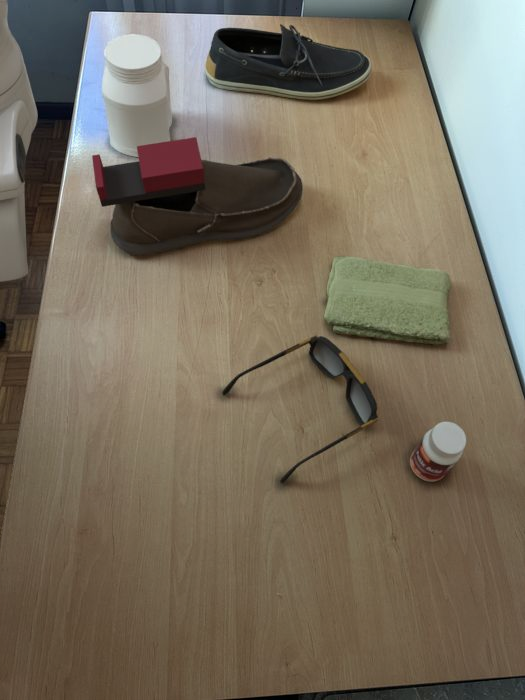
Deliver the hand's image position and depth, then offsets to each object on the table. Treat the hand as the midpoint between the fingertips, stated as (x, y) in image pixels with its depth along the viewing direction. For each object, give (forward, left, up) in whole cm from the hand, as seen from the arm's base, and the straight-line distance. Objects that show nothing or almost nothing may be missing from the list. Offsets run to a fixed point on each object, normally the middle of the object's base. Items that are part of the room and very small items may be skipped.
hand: (17, 229), depth 60 cm
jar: (+14, +45, -29) cm, 55 cm away
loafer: (+22, +24, -29) cm, 44 cm away
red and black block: (+14, +23, -19) cm, 33 cm away
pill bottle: (+42, -19, -29) cm, 55 cm away
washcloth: (+44, +5, -29) cm, 53 cm away
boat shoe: (+41, +55, -29) cm, 75 cm away
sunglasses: (+28, -9, -29) cm, 41 cm away
